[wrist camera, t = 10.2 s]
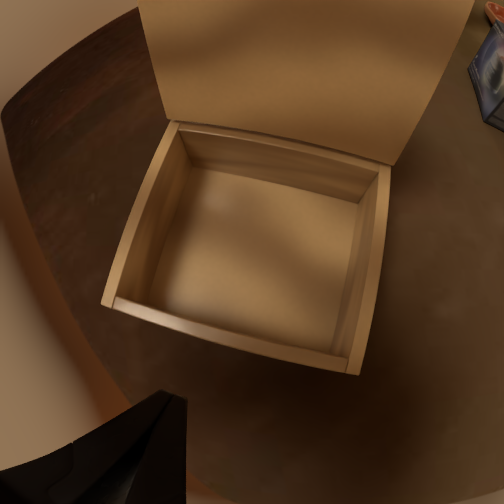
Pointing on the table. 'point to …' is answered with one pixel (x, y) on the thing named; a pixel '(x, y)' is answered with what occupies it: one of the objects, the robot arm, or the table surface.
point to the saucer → (494, 12)
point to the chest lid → (304, 66)
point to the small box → (490, 76)
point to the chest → (256, 245)
